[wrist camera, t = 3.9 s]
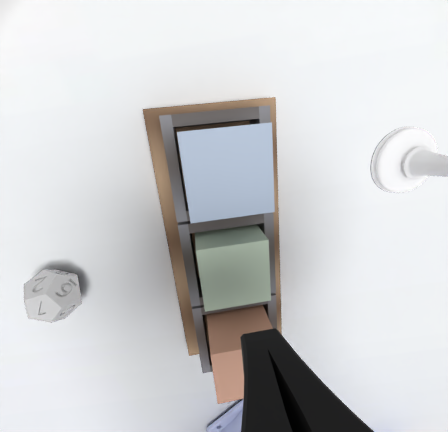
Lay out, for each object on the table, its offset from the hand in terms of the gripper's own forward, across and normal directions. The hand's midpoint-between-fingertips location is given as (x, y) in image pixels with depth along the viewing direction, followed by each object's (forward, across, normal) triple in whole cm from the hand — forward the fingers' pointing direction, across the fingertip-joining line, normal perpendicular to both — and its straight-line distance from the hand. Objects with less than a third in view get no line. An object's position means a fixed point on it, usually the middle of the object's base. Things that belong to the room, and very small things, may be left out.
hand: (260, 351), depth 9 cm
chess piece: (+11, -14, -4) cm, 18 cm away
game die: (+11, +12, +2) cm, 16 cm away
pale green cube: (+9, 0, 0) cm, 9 cm away
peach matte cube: (+7, 0, +6) cm, 10 cm away
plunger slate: (+7, 0, -6) cm, 10 cm away
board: (+10, 0, 0) cm, 10 cm away
